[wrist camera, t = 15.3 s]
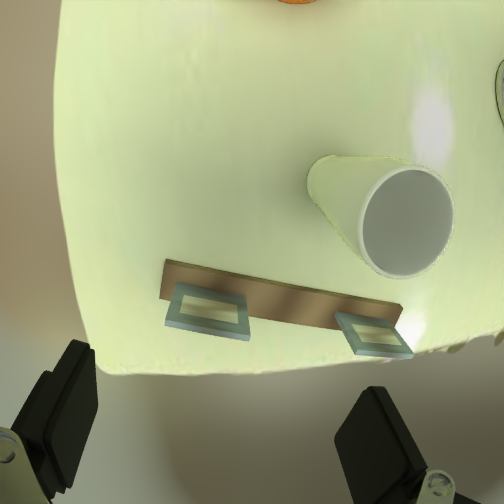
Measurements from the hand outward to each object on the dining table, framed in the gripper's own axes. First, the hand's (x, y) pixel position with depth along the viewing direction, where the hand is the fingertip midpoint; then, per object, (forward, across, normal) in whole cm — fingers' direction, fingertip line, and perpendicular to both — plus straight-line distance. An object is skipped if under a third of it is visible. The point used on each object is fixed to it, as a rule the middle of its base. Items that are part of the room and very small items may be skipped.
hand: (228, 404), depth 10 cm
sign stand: (+22, -8, +7) cm, 25 cm away
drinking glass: (+23, -9, -6) cm, 25 cm away
